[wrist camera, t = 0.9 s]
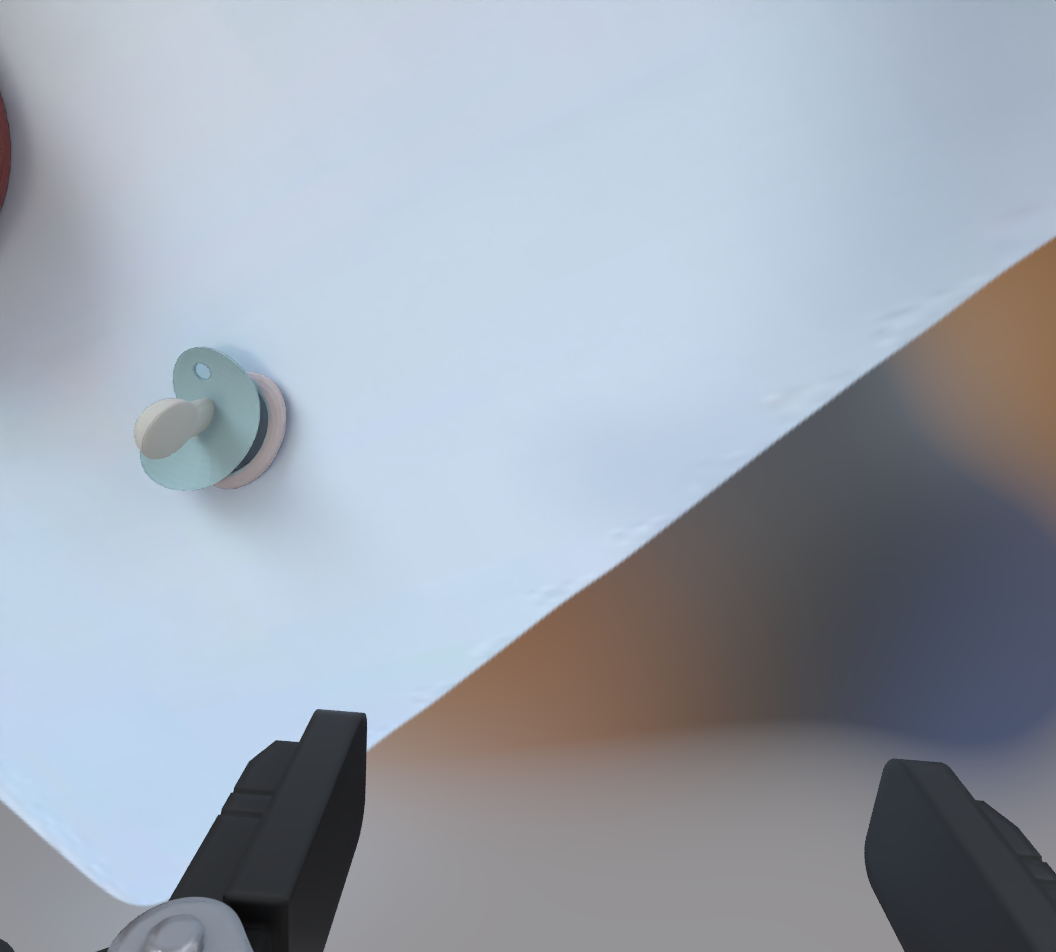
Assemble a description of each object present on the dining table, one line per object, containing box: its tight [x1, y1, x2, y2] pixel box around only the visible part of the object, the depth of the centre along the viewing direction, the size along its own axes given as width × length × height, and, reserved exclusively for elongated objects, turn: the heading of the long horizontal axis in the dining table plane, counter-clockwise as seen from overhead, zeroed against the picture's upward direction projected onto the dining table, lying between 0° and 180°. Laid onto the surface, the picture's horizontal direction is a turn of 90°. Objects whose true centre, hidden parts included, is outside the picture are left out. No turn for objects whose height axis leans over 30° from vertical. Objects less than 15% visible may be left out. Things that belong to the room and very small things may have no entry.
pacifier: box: [134, 347, 286, 491], centre depth 36 cm, size 7×6×6 cm
